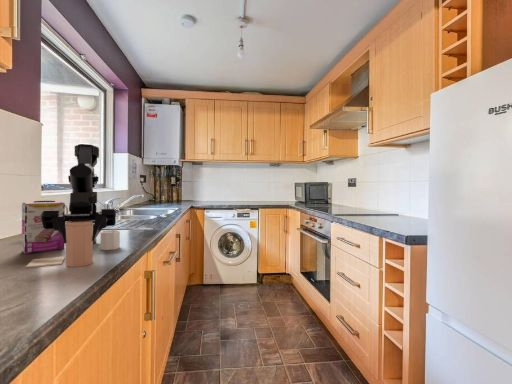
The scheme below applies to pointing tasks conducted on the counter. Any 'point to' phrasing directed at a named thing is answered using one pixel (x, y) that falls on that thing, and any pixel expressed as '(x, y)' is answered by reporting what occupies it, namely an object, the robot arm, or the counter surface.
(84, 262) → the brown rounded shape
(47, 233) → the candy bar box
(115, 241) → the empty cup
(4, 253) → the counter surface
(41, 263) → the coaster
